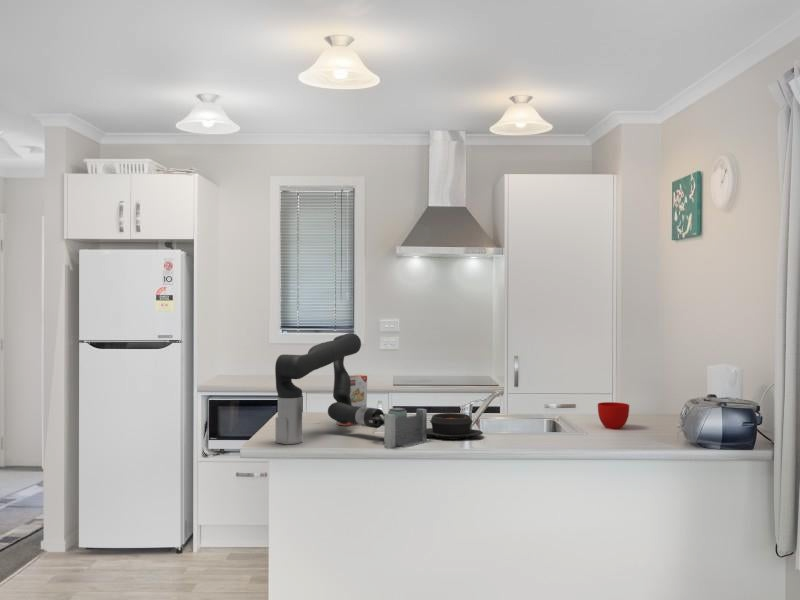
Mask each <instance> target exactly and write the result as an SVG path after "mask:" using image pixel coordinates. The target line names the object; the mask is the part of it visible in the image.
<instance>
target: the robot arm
mask: <svg viewBox="0 0 800 600" xmlns="http://www.w3.org/2000/svg"><path fill="white" fill-rule="evenodd" d="M361 347H362V341H361V338H360V337H359V336H358V335H357V334H356V333H353V332H349V333H345V334H341V335H339V336H336V337H334V339H333V340H329V341H325V342H321V343H318V344H316V345H315V344H314V345H313V346H311V347H310V349H309V350H308V351H307V353H306V354H281V355H280V354H279V356H278V357H277V358H276V362H275V365H274V366H275V367H274V368H275V369H274V372H275V374H274V375H275V389H276V393H277V416H276V417H275V440H274V441H275V443H276V444H277V443H278V444H282V445H295V444H300V443H302V442H303V390H302V388H300V387H298V386H297V385H295V384H294V383H293V381H292V380H300V379H302V378H304V377H306V376H307V375H309V374H310V373H312V372H314V371H317V370H318V369H321V368H324V367H326V366H328V365H329V366H330V364H333V374H334V375H333V376H334V379H333V391H332V397H333V399H334V400H335V401H336V402H333V403H331V404H330V405H329V406H328V408H327V415H328V416H329V418H330V419H332V420H334V421H336V423H337V422H339V423H341V424H347V423H348V422H350V423H352V424H353V425H358V426H362V427H364V428H365V427H366V428H372V429H379V428H381V427H382V426H383V427H384V415H386V414H387V413H384V411H383V410H382V409H380V408H374V407H368V406H367V407H355V406H352V404H351V399H350V389H351V380H350V377H349V376H350V375H349V373H348V372H347V369H346V368H345V365H344V362H345V361H344V360H345V357H349V356H352V355H356V354H357V353H358V352H359V351H360V350H361Z"/></svg>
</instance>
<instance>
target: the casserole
mask: <svg viewBox="0 0 800 600" xmlns="http://www.w3.org/2000/svg"><path fill="white" fill-rule="evenodd" d="M429 422H430V423H431V427H430V428H427V436H435V437H437V438H439V439H443V440H459V439H460V440H461V439H465V438H467V437H478V436H482V435H483V434H484V432H483V431H481V430H480V429H472V427H471V425H472V423H473V420H472V419H471V416H470V415H468V414H466V413H464V414H463V413H457V412H453V413H452V412H444V413H436V414H433V415H431V419H430V421H429Z"/></svg>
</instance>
